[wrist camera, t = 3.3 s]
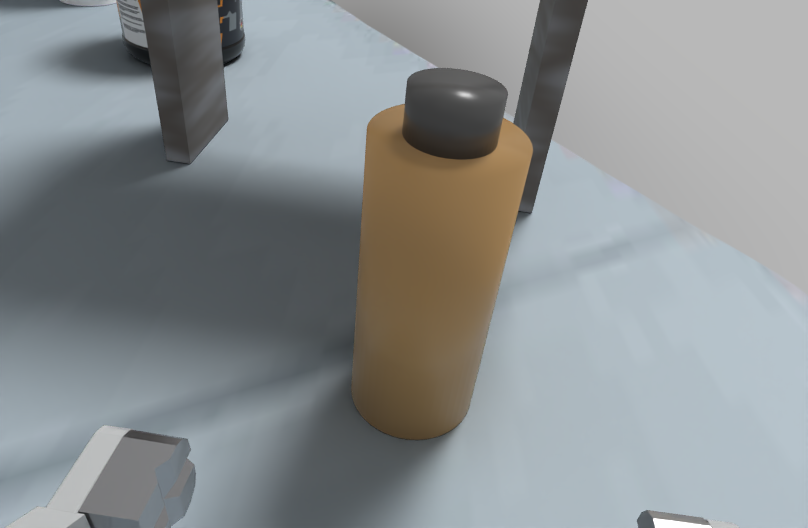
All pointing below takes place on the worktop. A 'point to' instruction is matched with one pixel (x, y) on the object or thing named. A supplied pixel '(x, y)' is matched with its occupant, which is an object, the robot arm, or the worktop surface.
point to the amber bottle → (433, 248)
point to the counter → (206, 96)
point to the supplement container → (228, 22)
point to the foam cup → (89, 2)
